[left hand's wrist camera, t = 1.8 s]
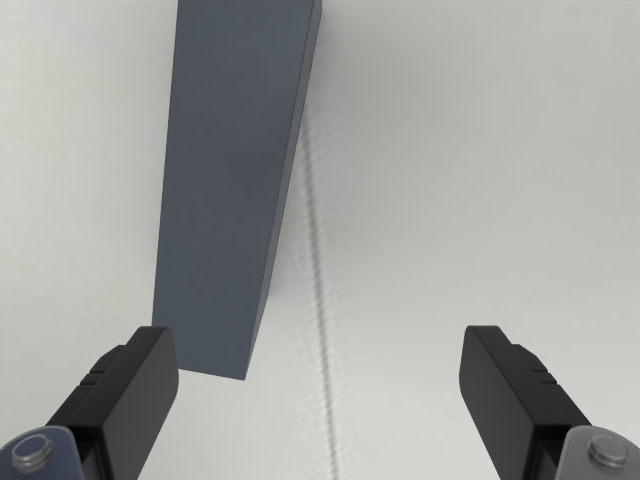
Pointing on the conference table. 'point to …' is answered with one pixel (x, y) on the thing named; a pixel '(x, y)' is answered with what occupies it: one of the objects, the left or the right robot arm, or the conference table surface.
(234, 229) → the box
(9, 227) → the conference table surface
